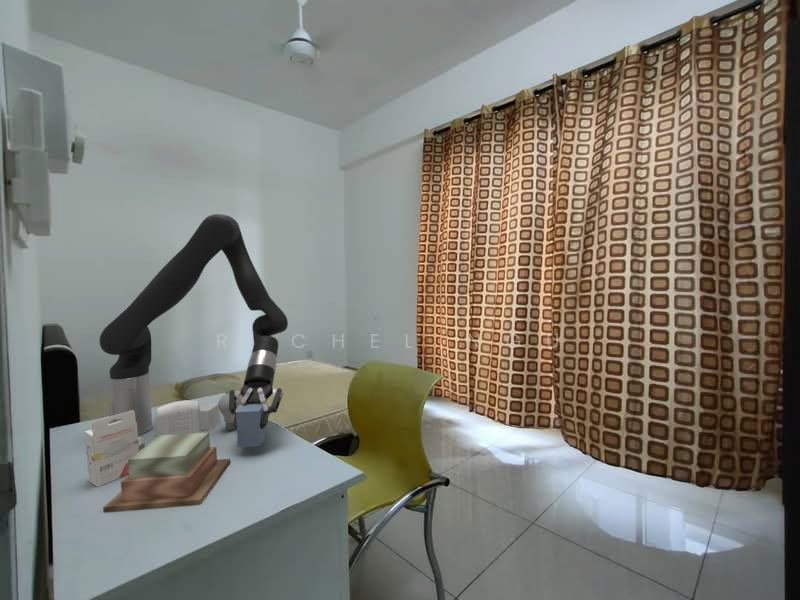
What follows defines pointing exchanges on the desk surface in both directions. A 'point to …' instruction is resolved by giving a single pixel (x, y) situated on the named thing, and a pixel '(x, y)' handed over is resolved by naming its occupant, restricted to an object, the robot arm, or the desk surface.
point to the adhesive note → (209, 416)
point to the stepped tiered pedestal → (170, 473)
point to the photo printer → (178, 418)
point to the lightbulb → (227, 410)
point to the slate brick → (250, 425)
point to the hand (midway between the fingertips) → (249, 428)
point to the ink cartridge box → (111, 447)
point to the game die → (141, 442)
